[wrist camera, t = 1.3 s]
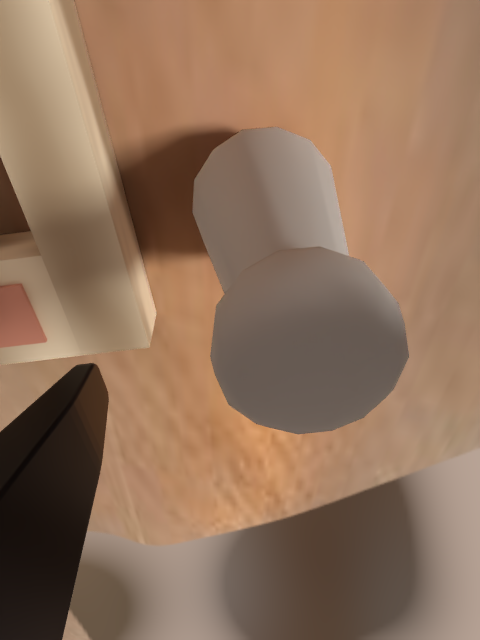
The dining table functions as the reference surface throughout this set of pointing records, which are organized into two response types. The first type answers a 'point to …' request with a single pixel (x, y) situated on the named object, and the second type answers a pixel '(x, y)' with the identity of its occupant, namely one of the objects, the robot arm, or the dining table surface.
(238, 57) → the dining table surface
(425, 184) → the dining table surface
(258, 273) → the salt shaker
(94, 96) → the maple frame
